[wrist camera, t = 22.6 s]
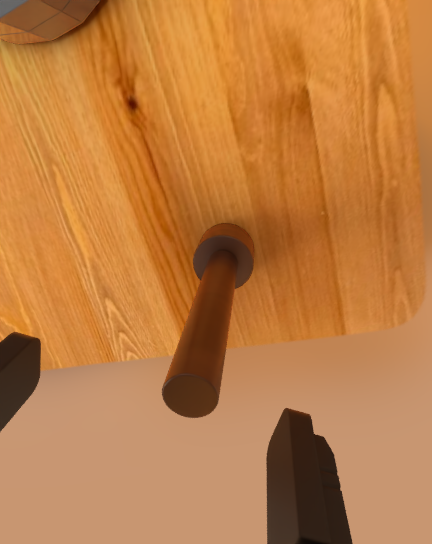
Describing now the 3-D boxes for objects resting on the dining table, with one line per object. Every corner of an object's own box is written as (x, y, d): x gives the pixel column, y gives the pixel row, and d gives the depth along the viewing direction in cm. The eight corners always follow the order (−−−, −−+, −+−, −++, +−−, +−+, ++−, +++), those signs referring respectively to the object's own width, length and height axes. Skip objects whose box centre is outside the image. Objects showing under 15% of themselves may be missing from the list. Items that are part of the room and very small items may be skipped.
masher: (262, 235, 27) (266, 376, 12) (241, 281, 29) (223, 452, 14) (210, 214, 26) (150, 333, 12) (192, 263, 28) (122, 416, 14)
